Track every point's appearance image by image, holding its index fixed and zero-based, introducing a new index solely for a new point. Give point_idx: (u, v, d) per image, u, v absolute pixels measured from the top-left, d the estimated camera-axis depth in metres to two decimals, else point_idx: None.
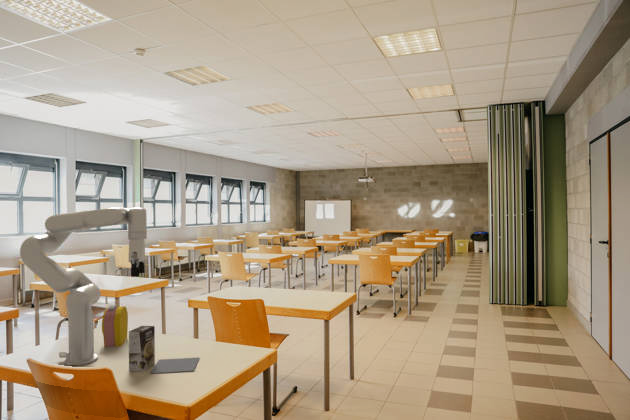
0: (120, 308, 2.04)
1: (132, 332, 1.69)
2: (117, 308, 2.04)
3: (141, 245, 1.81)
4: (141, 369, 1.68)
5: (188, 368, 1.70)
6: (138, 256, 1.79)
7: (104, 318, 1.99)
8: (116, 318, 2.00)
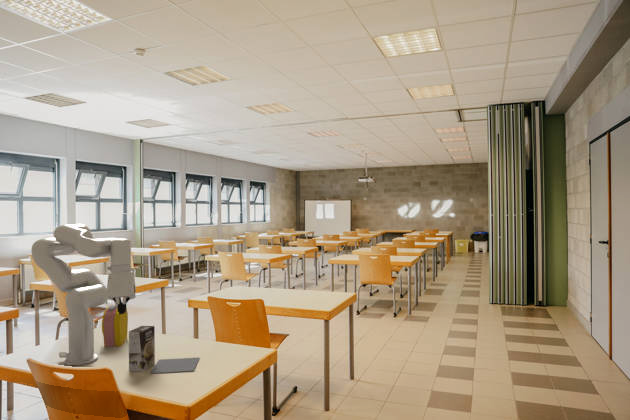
0: None
1: (132, 332, 1.69)
2: (117, 308, 2.04)
3: None
4: (141, 369, 1.68)
5: (188, 368, 1.70)
6: None
7: (104, 318, 1.99)
8: (116, 318, 2.00)
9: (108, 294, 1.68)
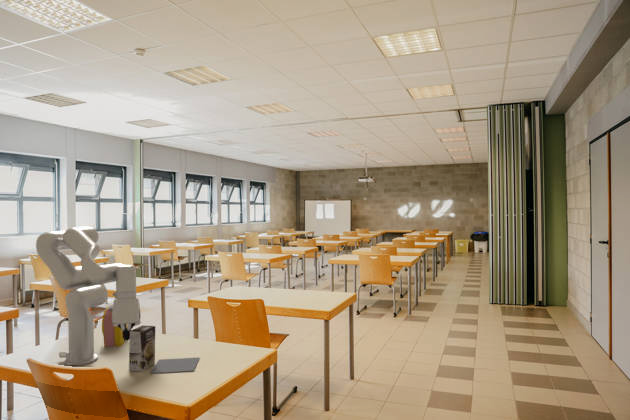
0: None
1: (133, 332, 1.69)
2: None
3: None
4: (141, 369, 1.68)
5: (188, 368, 1.70)
6: None
7: (104, 318, 1.99)
8: None
9: (113, 321, 1.69)
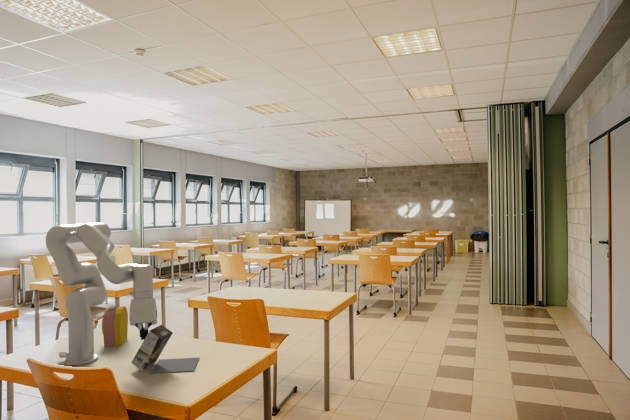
0: (120, 308, 2.04)
1: (152, 333, 1.67)
2: (117, 308, 2.04)
3: None
4: (142, 369, 1.68)
5: (188, 368, 1.70)
6: None
7: (104, 318, 1.99)
8: (116, 318, 2.00)
9: (131, 320, 1.70)
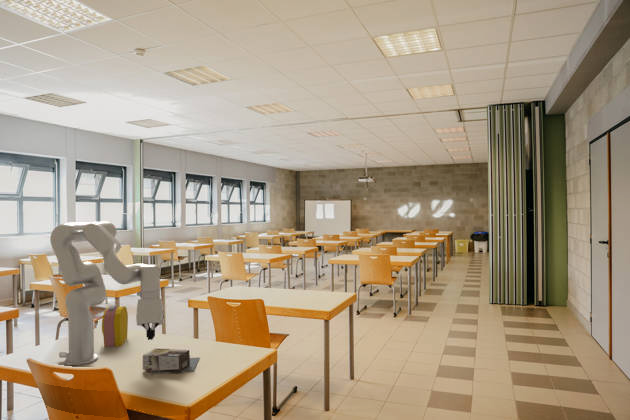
0: (120, 308, 2.04)
1: (178, 361, 1.65)
2: (117, 308, 2.04)
3: None
4: (144, 369, 1.68)
5: (188, 368, 1.70)
6: None
7: (104, 318, 1.99)
8: (116, 318, 2.00)
9: (138, 320, 1.70)
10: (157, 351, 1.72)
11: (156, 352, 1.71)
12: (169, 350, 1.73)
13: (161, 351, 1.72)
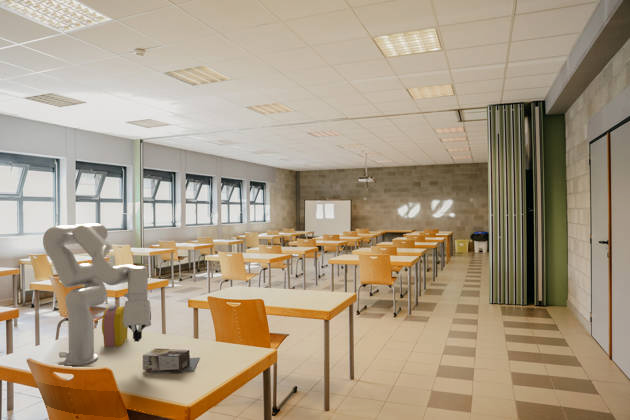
0: (120, 308, 2.04)
1: (178, 361, 1.65)
2: (117, 308, 2.04)
3: None
4: (144, 369, 1.68)
5: (188, 368, 1.70)
6: None
7: (104, 318, 1.99)
8: (116, 318, 2.00)
9: (124, 322, 1.69)
10: (157, 351, 1.72)
11: (156, 352, 1.71)
12: (169, 350, 1.73)
13: (161, 351, 1.72)
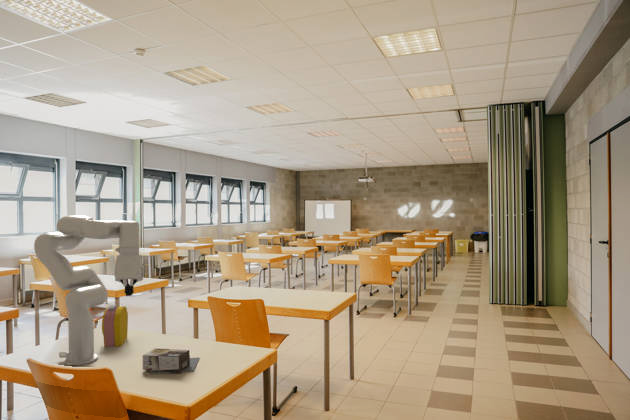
0: (120, 308, 2.04)
1: (178, 361, 1.65)
2: (117, 308, 2.04)
3: None
4: (144, 369, 1.68)
5: (188, 368, 1.70)
6: None
7: (104, 318, 1.99)
8: (116, 318, 2.00)
9: (116, 275, 1.69)
10: (157, 351, 1.72)
11: (156, 352, 1.71)
12: (169, 350, 1.73)
13: (161, 351, 1.72)
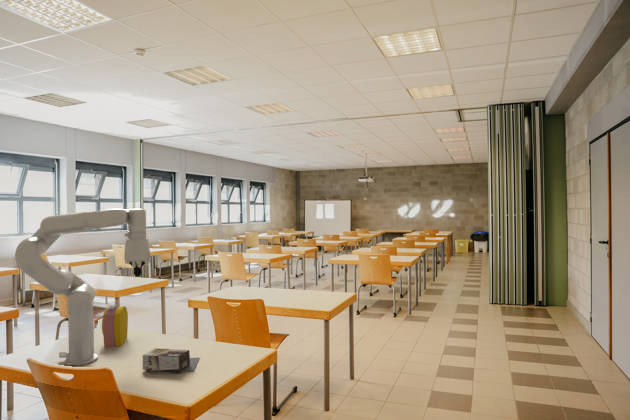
0: (120, 308, 2.04)
1: (178, 361, 1.65)
2: (117, 308, 2.04)
3: None
4: (144, 369, 1.68)
5: (188, 368, 1.70)
6: None
7: (104, 318, 1.99)
8: (116, 318, 2.00)
9: (125, 258, 1.87)
10: (157, 351, 1.72)
11: (156, 352, 1.71)
12: (169, 350, 1.73)
13: (161, 351, 1.72)
